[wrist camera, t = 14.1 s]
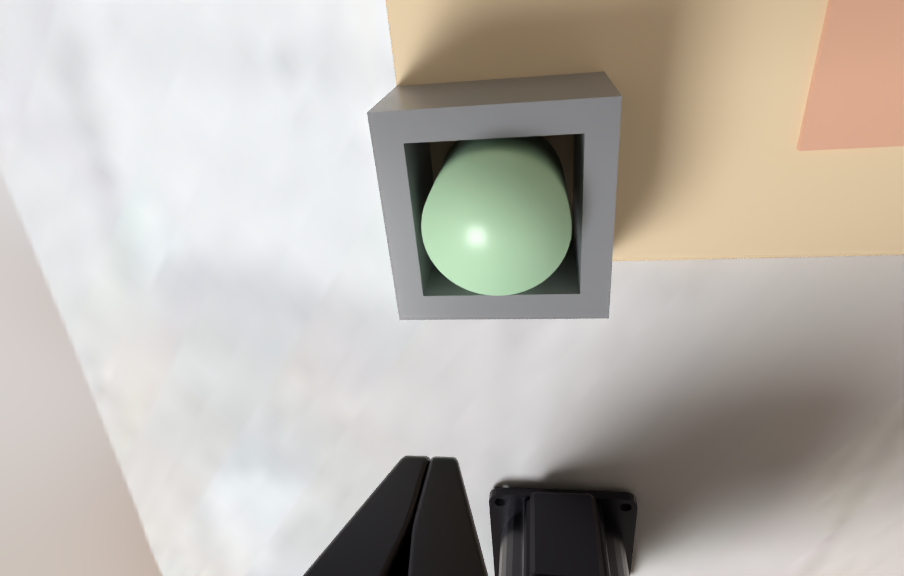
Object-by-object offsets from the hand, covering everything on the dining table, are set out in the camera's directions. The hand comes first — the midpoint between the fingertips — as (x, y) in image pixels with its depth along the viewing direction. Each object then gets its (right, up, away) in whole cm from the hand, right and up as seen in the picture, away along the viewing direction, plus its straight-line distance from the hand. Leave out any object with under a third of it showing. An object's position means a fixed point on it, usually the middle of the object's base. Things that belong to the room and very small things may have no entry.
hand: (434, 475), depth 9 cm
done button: (+2, +6, +8) cm, 11 cm away
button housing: (+2, +6, +9) cm, 11 cm away
